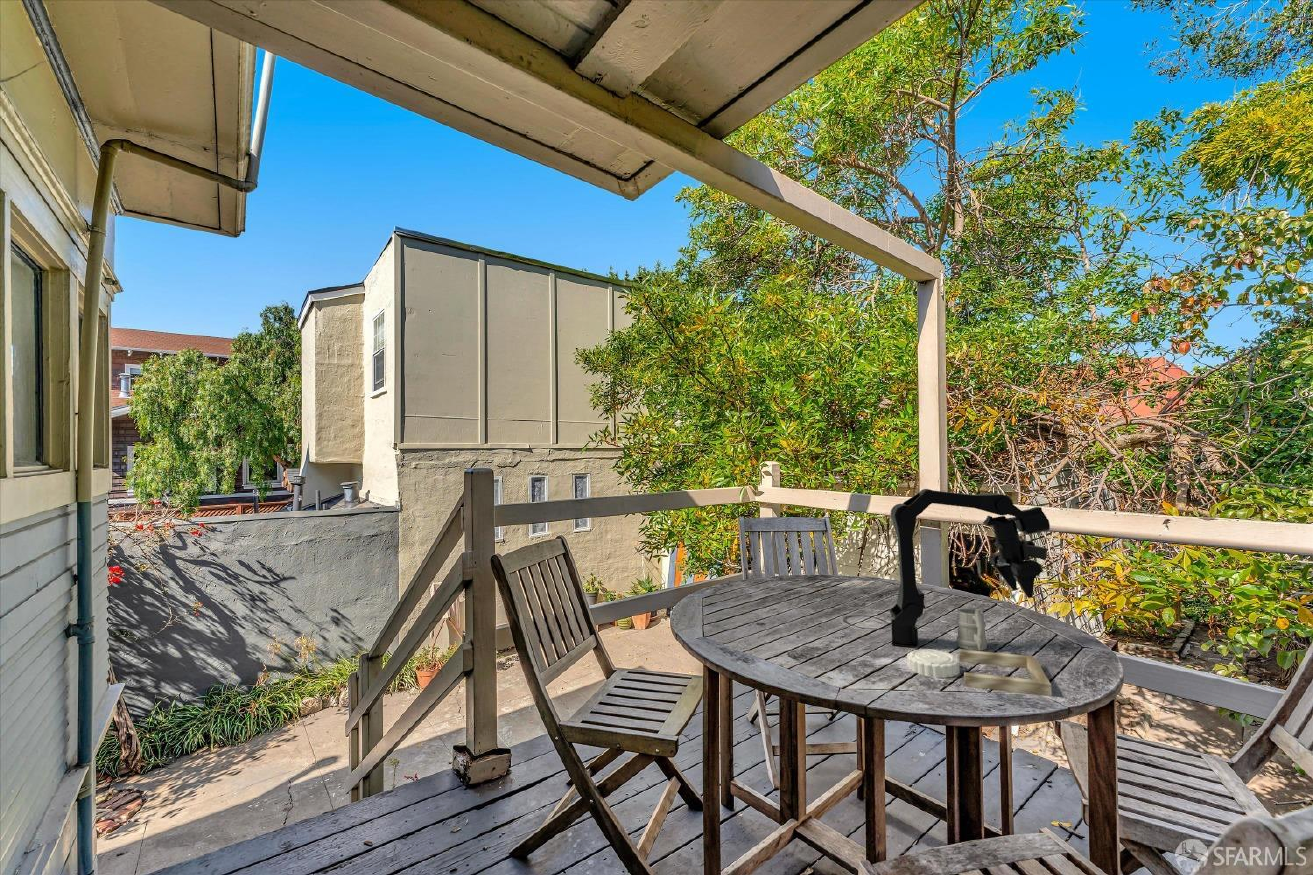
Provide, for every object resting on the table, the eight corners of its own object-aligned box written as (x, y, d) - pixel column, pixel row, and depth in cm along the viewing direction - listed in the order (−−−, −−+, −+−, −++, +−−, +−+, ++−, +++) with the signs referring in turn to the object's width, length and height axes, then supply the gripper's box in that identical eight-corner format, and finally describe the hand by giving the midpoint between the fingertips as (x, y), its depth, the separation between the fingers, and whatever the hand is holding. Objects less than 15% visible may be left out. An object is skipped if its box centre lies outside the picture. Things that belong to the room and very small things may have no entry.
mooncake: (944, 660, 152) (944, 646, 152) (969, 677, 140) (968, 663, 140) (899, 661, 152) (898, 648, 152) (920, 679, 140) (919, 664, 140)
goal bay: (965, 685, 135) (964, 675, 135) (959, 658, 152) (958, 649, 152) (1051, 696, 128) (1051, 684, 128) (1035, 666, 145) (1034, 656, 146)
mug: (981, 642, 164) (979, 599, 165) (999, 656, 153) (996, 611, 153) (952, 641, 166) (950, 599, 166) (968, 656, 154) (966, 611, 154)
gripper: (1055, 536, 150) (1072, 596, 149) (1022, 528, 169) (1036, 580, 168) (1010, 545, 152) (1026, 604, 151) (982, 535, 170) (996, 588, 169)
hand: (1022, 593), depth 160 cm, fingers open, 9 cm apart
